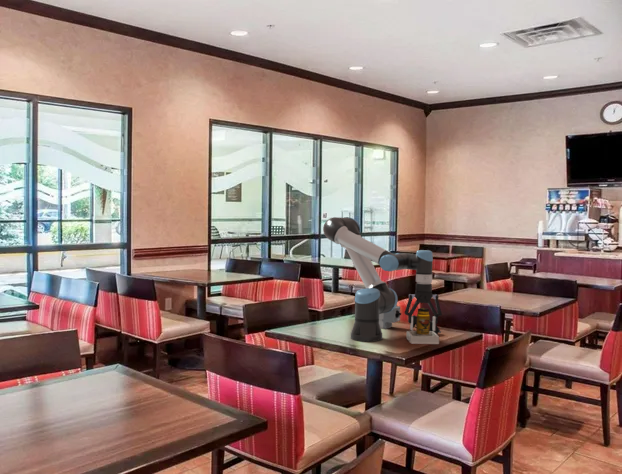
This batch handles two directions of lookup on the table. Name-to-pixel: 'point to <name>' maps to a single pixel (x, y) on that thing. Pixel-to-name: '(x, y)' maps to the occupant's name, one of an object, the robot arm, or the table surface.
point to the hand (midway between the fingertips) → (422, 330)
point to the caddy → (422, 338)
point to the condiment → (423, 322)
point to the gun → (430, 325)
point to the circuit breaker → (389, 318)
